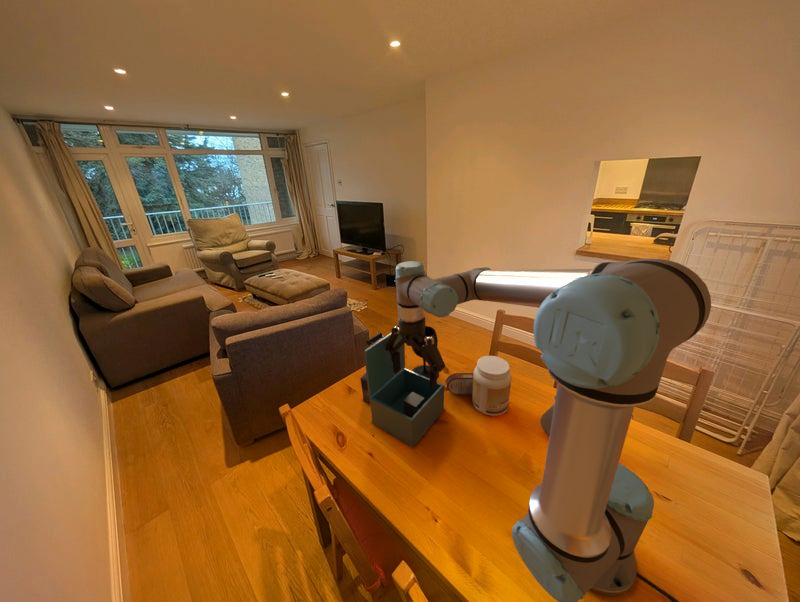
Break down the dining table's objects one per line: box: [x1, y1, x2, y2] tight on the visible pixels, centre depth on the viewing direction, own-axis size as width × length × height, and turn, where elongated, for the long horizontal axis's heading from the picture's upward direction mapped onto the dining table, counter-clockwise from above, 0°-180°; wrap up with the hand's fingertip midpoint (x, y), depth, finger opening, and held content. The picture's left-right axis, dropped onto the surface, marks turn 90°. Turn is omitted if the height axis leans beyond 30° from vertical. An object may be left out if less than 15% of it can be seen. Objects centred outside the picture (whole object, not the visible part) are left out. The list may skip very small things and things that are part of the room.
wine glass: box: [410, 325, 439, 379], centre depth 116 cm, size 10×10×20 cm
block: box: [403, 392, 425, 418], centre depth 96 cm, size 5×5×8 cm
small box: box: [359, 372, 389, 404], centre depth 108 cm, size 11×6×10 cm, turn 149°
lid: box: [363, 331, 406, 397], centre depth 98 cm, size 17×19×6 cm
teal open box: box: [369, 367, 445, 448], centre depth 97 cm, size 17×19×11 cm
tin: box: [445, 372, 474, 395], centre depth 106 cm, size 15×3×8 cm, turn 88°
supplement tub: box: [471, 355, 513, 417], centre depth 99 cm, size 12×12×17 cm
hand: (414, 378), depth 90 cm, fingers open, 13 cm apart
